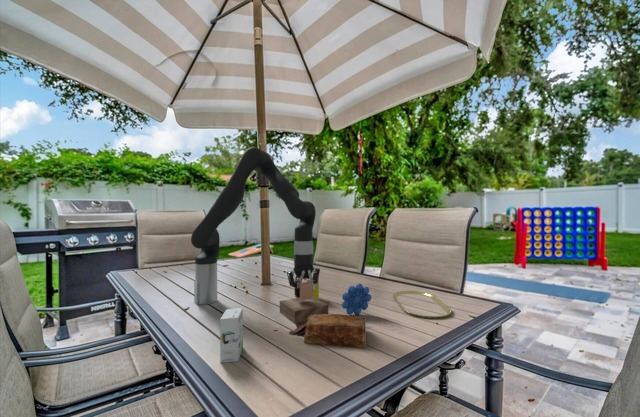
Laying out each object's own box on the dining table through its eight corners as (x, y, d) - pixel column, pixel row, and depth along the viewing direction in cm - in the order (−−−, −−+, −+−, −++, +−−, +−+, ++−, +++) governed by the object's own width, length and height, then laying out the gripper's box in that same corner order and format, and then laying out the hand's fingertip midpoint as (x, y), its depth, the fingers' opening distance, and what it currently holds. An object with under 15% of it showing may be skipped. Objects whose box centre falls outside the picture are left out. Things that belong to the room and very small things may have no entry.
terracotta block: (301, 300, 112) (301, 284, 112) (295, 297, 116) (295, 281, 116) (312, 298, 115) (312, 282, 115) (306, 295, 119) (306, 280, 119)
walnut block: (294, 325, 105) (294, 311, 105) (279, 313, 117) (279, 301, 118) (328, 317, 112) (328, 304, 112) (310, 307, 125) (310, 295, 125)
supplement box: (319, 298, 136) (318, 274, 136) (317, 302, 130) (317, 277, 130) (306, 298, 137) (306, 274, 137) (304, 302, 131) (304, 277, 131)
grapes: (368, 310, 119) (368, 280, 119) (373, 316, 112) (372, 284, 113) (340, 311, 118) (339, 281, 118) (342, 317, 111) (342, 285, 111)
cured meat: (295, 322, 108) (295, 303, 107) (365, 325, 104) (365, 306, 104) (282, 346, 90) (282, 323, 90) (366, 351, 86) (365, 327, 86)
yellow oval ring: (408, 320, 109) (408, 316, 109) (389, 293, 144) (389, 290, 144) (459, 320, 109) (459, 316, 109) (428, 294, 144) (428, 290, 144)
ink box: (226, 348, 87) (226, 308, 87) (243, 347, 88) (243, 307, 88) (219, 363, 79) (219, 318, 79) (238, 362, 79) (238, 317, 79)
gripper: (314, 249, 123) (314, 291, 122) (282, 252, 115) (282, 296, 115) (324, 252, 116) (324, 295, 116) (291, 255, 108) (292, 301, 108)
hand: (303, 296), depth 115 cm, fingers closed on terracotta block, 4 cm apart
